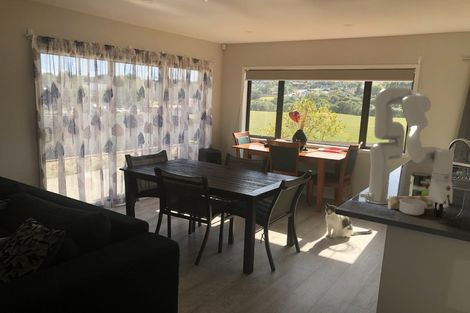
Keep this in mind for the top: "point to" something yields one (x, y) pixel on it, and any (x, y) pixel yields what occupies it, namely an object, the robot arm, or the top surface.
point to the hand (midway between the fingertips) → (437, 217)
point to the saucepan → (413, 206)
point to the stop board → (395, 203)
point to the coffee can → (420, 184)
